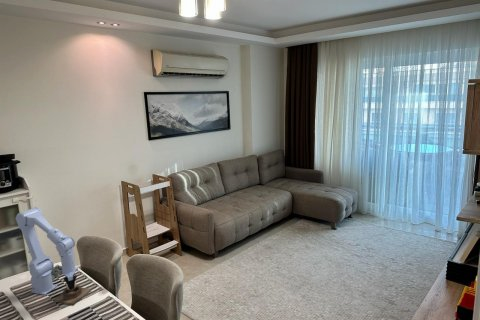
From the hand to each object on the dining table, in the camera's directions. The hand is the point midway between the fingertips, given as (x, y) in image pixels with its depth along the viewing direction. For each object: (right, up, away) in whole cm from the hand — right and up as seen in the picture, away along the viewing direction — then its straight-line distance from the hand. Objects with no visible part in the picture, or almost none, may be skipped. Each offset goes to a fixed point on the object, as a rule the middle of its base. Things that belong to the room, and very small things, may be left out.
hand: (71, 286), depth 161 cm
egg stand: (0, -5, +1) cm, 5 cm away
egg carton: (-21, -2, +21) cm, 30 cm away
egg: (0, +1, 0) cm, 1 cm away
